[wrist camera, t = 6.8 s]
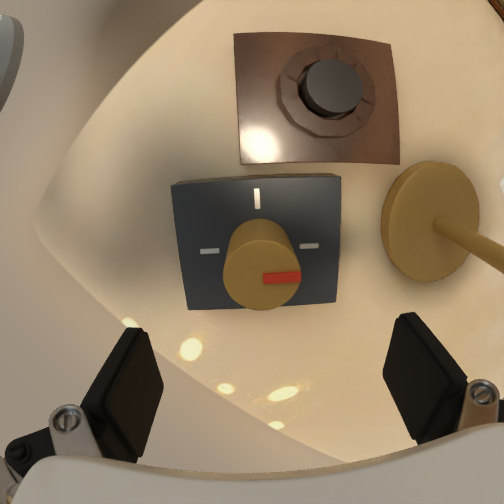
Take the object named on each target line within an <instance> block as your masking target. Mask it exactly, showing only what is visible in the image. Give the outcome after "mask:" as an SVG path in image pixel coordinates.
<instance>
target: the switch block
mask: <svg viewBox="0 0 504 504" xmlns="http://www.w3.org/2000/svg"><path fill="white" fill-rule="evenodd" d="M233 35H234V54H235V73H236V92H237V109H238V127H239V144H240V161H241V165H242V164H261V163H290V162H348V163H376V164H395V165H400V138H399V115H398V101H397V90H396V80H395V72H394V64H393V57H392V50H391V45H390V44H386V43H381V42H376V41H371V40H365V39H359V38H352V37H344V36H336V35H326V34H313V33H293V32H256V33H236V34H233ZM324 59H336V60H340V61H343V62H345V63H347V64H348V65H350V66H351V67H352V68H353V69H354V70H355V71H356V72H357V74H358V75H359V77H360V79H361V82H362V86H363V94H362V98H361V100H360V102H359V104H358V105H357V106H356V107H355V108H353V109H352V110H350V111H348V112H345V113H342V114H339V115H335V116H327V115H323V114H320V113H318V112H316V111H315V110H313V109H312V108H311V107H310V106H309V105H308V104H307V103H306V101H305V99H304V97H303V95H302V90H301V85H302V81H303V78H304V76H305V75H306V73H307V72H308V71H309V69H310V68H311V67H312V66H313V65H314V64H315V63H317V62H318V61H321V60H324Z"/></svg>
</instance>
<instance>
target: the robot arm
mask: <svg viewBox="0 0 504 504" xmlns="http://www.w3.org/2000/svg"><path fill="white" fill-rule="evenodd" d="M383 378H384V380H385V382H386V384H387V387H388V389H389V391H390V393H391V395H392V397H393V399H394V401H395V403H396V405H397V408H398V410H399V412H400V414H401V416H402V418H403V421H404V423H405V425H406V427H407V430H408V432H409V434H410V436H411V438H412V439H413V440H416V442H417V444H418V446H415V447H411V448H408V449H405V450H401V451H398V452H394V453H391V454H387V455H383V456H379V457H375V458H371V459H367V460H362V461H357V462H352V463H347V464H342V465H336V466H330V467H323V468H316V469H307V470H298V471H287V472H270V473H213V472H197V471H186V470H177V469H168V468H161V467H153V466H146V465H140V464H136V463H137V460H138V457H142V456H143V453H144V450H145V446H146V443H147V440H148V436H149V433H150V430H151V426H152V424H153V421H154V417H155V414H156V411H157V408H158V405H159V402H160V399H161V396H162V393H163V387H164V386H163V381H162V378H161V375H160V372H159V369H158V366H157V362H156V359H155V356H154V353H153V349H152V346H151V343H150V339H149V336H148V333H147V332H144V331H143V329H142V328H132V327H128V328H126V329H125V331H124V333H123V334H122V336H121V337H120V339H119V340H118V342H117V344H116V345H115V347H114V349H113V350H112V352H111V353H110V355H109V357H108V358H107V360H106V362H105V363H104V365H103V367H102V368H101V370H100V372H99V373H98V375H97V377H96V378H95V380H94V382H93V383H92V385H91V387H90V389H89V391H88V392H87V394H86V396H85V397H84V399H83V401H82V403H81V405H80V407H79V406H76V405H74V404H67V405H63V406H60V407H58V408H57V409H56V410H54V411H53V413H52V414H51V415H50V418H49V427H47V428H44V429H42V430H39V431H37V432H34V433H31V434H29V435H26V436H23V437H20V438H17V439H15V440H13V441H12V442H10V443H9V445H8V446H7V448H6V451H5V458H4V459H3V458H2V457H1V456H0V504H504V400H501V399H500V396H499V391H498V389H497V387H496V386H495V385H494V384H493V383H491V382H490V381H487V380H484V379H476V380H473V381H471V382H470V383H468V382H467V381H466V380H467V376H466V375H465V373H464V372H463V371H462V369H461V368H460V367H459V365H458V364H457V363H456V361H455V360H454V359H453V358H452V356H451V355H450V354H449V353H448V351H447V350H446V349H445V347H444V346H443V345H442V344H441V343H440V341H439V340H438V339H437V338H436V336H435V335H434V334H433V333H432V332H431V330H430V329H429V328H428V327H427V326H426V324H425V323H424V322H423V321H422V320H421V319H420V317H419V316H418V315H417V314H416V313H415V312H410V313H403V314H400V316H399V318H397V319H396V320H395V324H394V328H393V333H392V337H391V341H390V345H389V349H388V353H387V357H386V360H385V364H384V367H383Z"/></svg>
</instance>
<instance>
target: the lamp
mask: <svg viewBox="0 0 504 504" xmlns="http://www.w3.org/2000/svg"><path fill="white" fill-rule="evenodd" d="M478 226H479V203H478V198H477V195H476V192H475V189H474V187H473V185H472V183H471V181H470V180H469V178H468V177H467V176H466V175H465V174H464V173H463V172H462V171H461V170H460V169H458V168H457V167H455V166H453V165H451V164H447V163H443V162H436V161H426V162H421V163H418V164H415V165H414V166H412V167H410V168H409V169H407V170H406V171H404V172H403V173H402V174H401V175H400V176H399V177H398V179H397V180H396V181H395V183H394V184H393V186H392V187H391V189H390V191H389V193H388V195H387V197H386V200H385V203H384V207H383V211H382V218H381V234H382V240H383V245H384V247H385V250H386V253H387V255H388V256H389V258H390V260H391V261H392V262H393V264H394V265H395V266H396V267H397V268H399V269H400V270H401V271H402V272H403V273H404V274H405V275H407V276H408V277H410V278H412V279H414V280H417V281H422V282H432V281H437V280H439V279H442V278H444V277H446V276H448V275H449V274H451V273H452V272H454V271H455V270H456V269H457V268H458V267H459V266H460V265H461V264H462V263H463V261H464V260H465V259H466V257H467V256H468V254H469V252H470V253H472V254H473V255H475V256H477V257H478V258H480V259H481V260H483V261H485V262H486V263H488V264H489V265H491V266H492V267H494V268H495V269H497V270H499V271H500V272H502V273H503V274H504V246H502V245H500V244H498V243H496V242H494V241H492V240H490V239H488V238H486V237H484V236H483V235H481V234H479V233H477V232H478Z"/></svg>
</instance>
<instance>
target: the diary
mask: <svg viewBox="0 0 504 504" xmlns="http://www.w3.org/2000/svg"><path fill="white" fill-rule="evenodd" d="M489 1H490V2H491V3H492V5H493V6H494V7H495V9H496V10H497V11H498V12H499V14H500V15H501V16H502V18H503V19H504V0H489Z"/></svg>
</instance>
